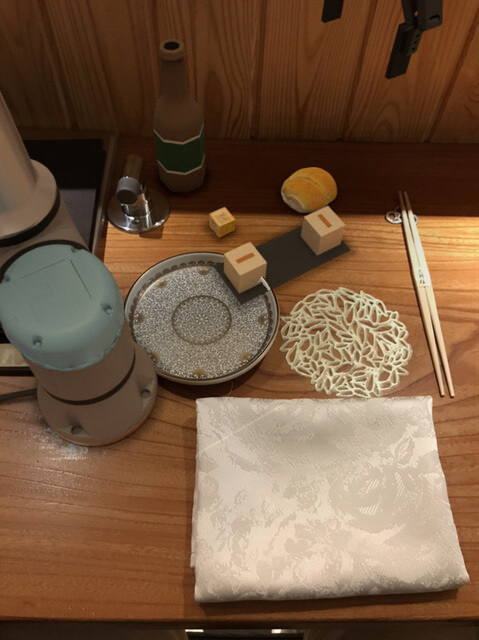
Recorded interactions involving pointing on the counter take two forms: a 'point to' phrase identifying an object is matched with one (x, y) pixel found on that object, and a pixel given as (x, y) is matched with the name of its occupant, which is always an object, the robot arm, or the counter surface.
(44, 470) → the counter surface
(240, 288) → the small cardboard box
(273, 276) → the word mat
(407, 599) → the counter surface
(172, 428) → the counter surface
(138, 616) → the counter surface
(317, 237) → the beige wooden block
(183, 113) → the beer bottle
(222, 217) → the alphabet block
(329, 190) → the bread roll
